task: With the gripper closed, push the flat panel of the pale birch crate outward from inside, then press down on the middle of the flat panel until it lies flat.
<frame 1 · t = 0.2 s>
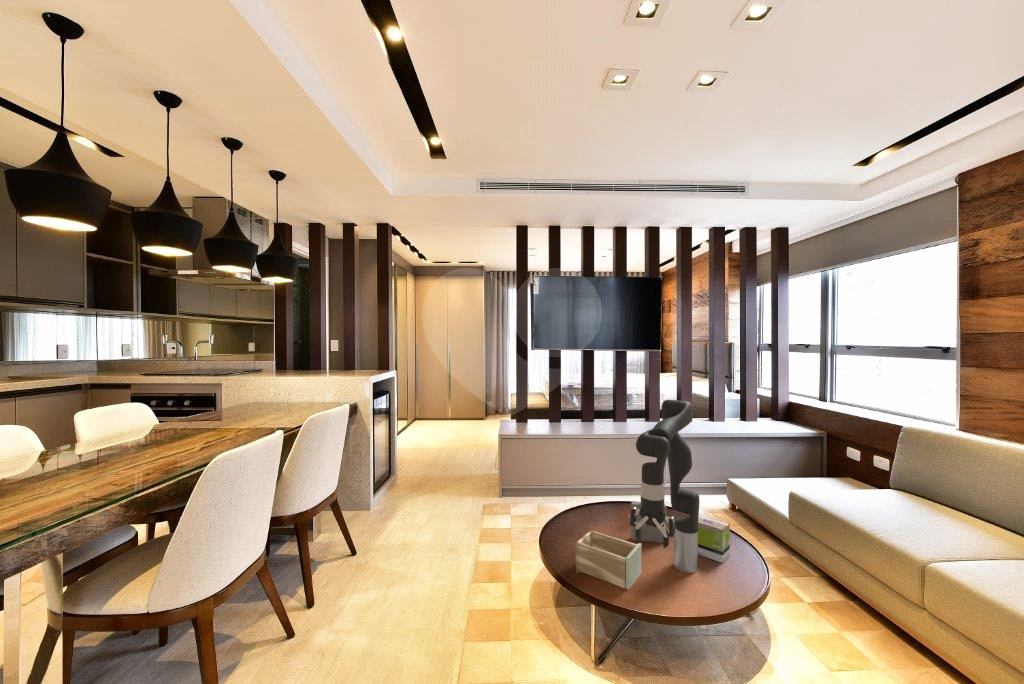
hand: (652, 543, 138), 29 cm above the table, fingers open, 8 cm apart
tea box: (708, 553, 188), on the table
crate: (606, 573, 171), on the table
flat panel: (633, 565, 164), point 7 cm above the table, hinge at 0.0°
hip flask: (648, 540, 200), on the table
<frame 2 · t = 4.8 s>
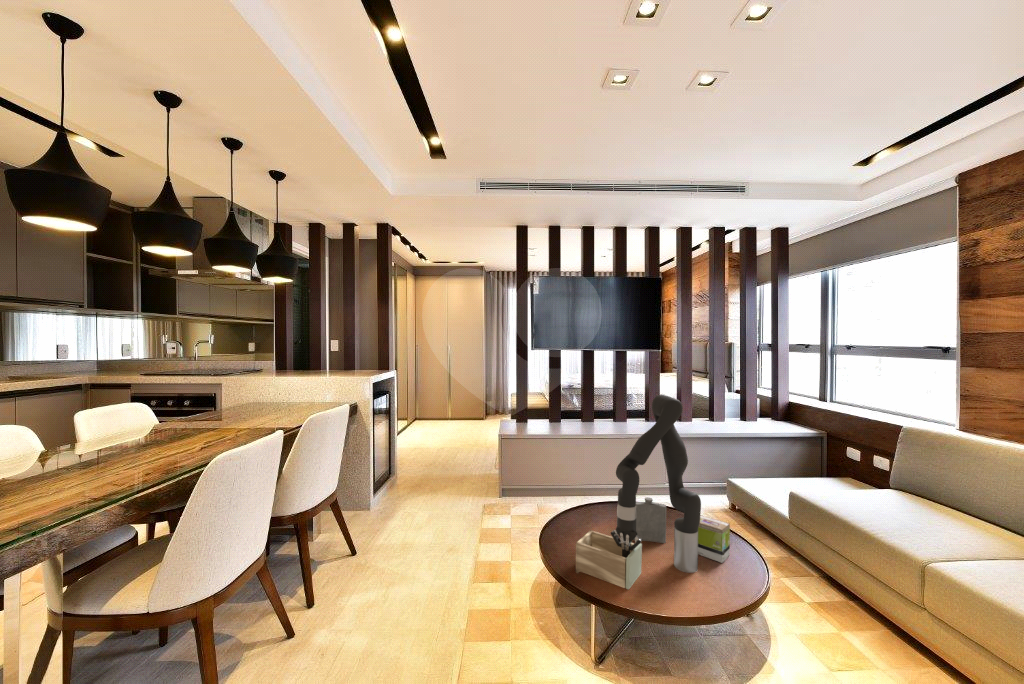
hand: (625, 558, 166), 9 cm above the table, fingers closed
flat panel: (634, 565, 164), point 7 cm above the table, hinge at 0.9°, touching gripper
everything else where it was.
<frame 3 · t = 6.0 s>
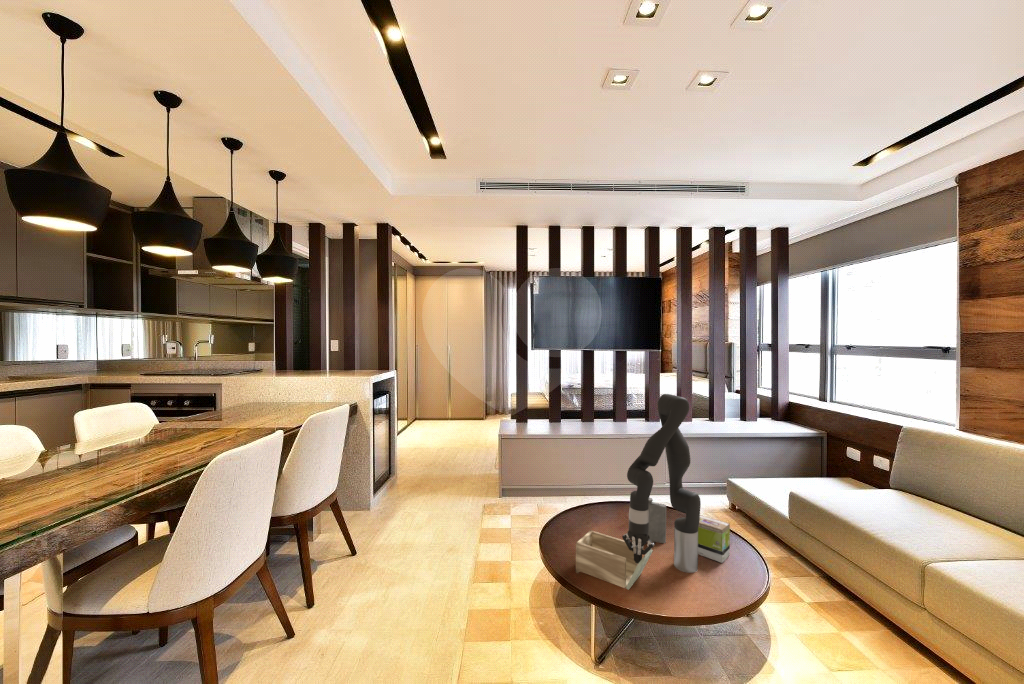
hand: (637, 562, 163), 9 cm above the table, fingers closed
flat panel: (639, 568, 163), point 7 cm above the table, hinge at 23.3°, touching gripper
everything else where it was.
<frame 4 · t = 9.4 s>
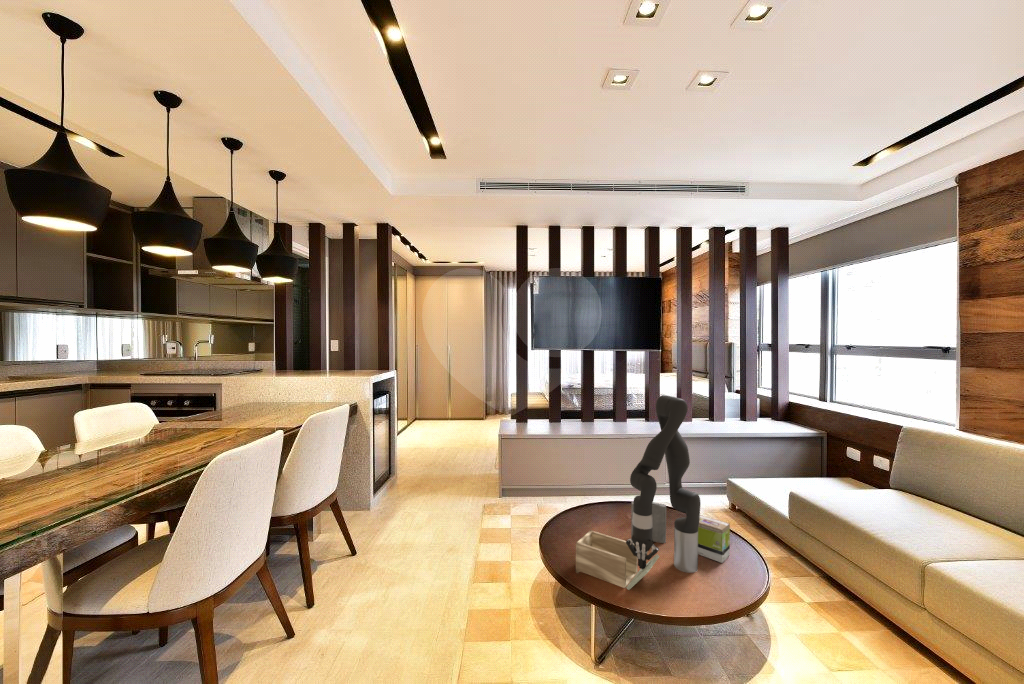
hand: (641, 567, 162), 7 cm above the table, fingers closed
flat panel: (643, 571, 162), point 6 cm above the table, hinge at 37.8°, touching gripper
everything else where it was.
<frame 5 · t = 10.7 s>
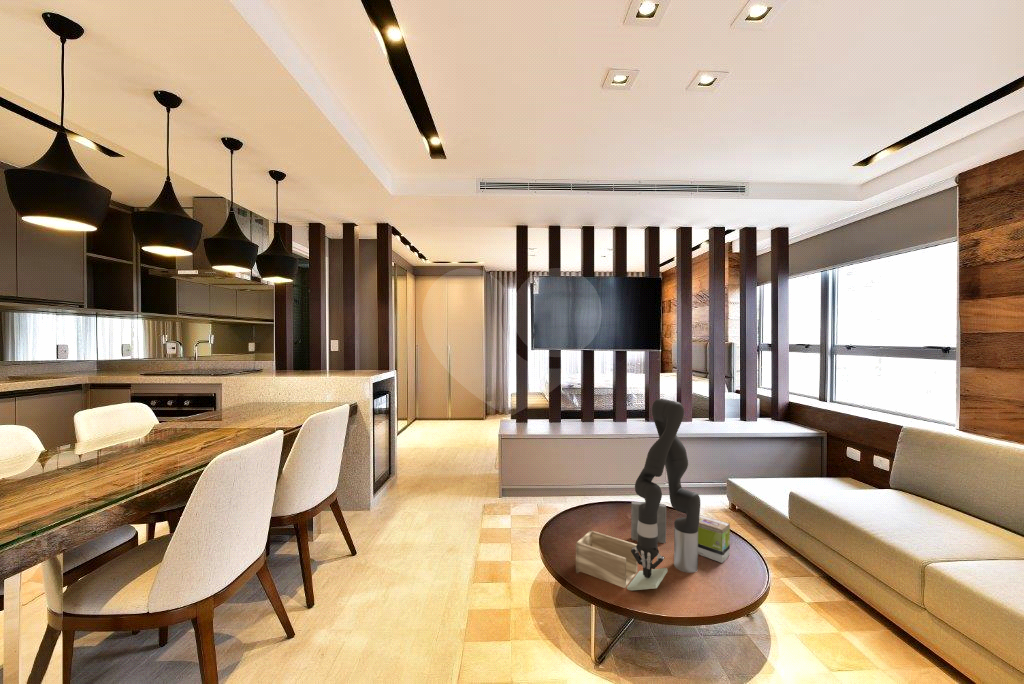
hand: (647, 576, 161), 5 cm above the table, fingers closed
flat panel: (647, 579, 161), point 4 cm above the table, hinge at 65.4°, touching gripper
everything else where it was.
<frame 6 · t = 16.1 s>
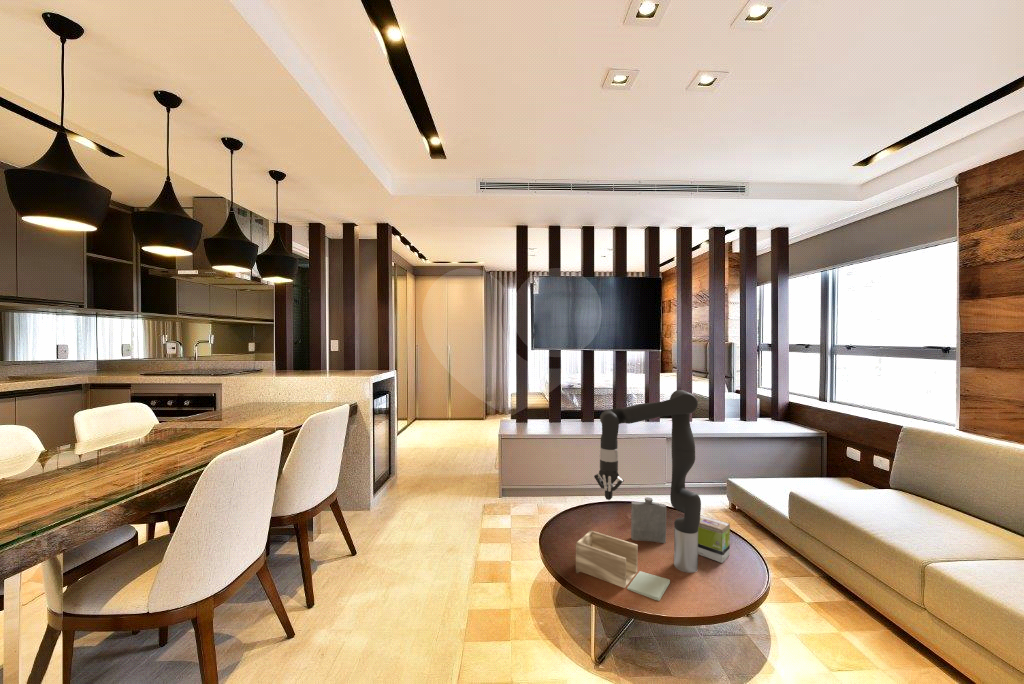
hand: (608, 499, 175), 29 cm above the table, fingers closed
flat panel: (648, 585, 161), point 2 cm above the table, hinge at 86.8°
everything else where it was.
at the end: flat panel at +87° (first picture: +0°); tea box moved 0.3 cm from its start; hip flask moved 0.3 cm from its start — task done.
